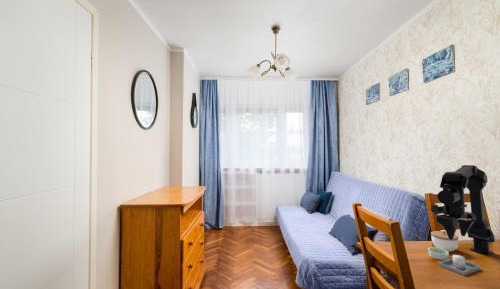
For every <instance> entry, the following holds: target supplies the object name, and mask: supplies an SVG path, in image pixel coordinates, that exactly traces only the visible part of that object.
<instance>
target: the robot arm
mask: <svg viewBox="0 0 500 289" xmlns="http://www.w3.org/2000/svg"><path fill="white" fill-rule="evenodd" d="M488 179H489V178H488V176H487V174H486V172H485V171H484V170H481V169H480V168H478V166H477V165H471V164H469V165H468V164H464V165H461V167H459V168H458V169H456V170H455V171H445V172H444V173H443V174H442V177H441V181H440V184H439V189H442V190H440V191H439V192H438V193H437V196H436V198H437V200H438V201H439V203H441V204H443V205H442V206H441V205H440V206H438V204H434V205H431V206H430V212H432V213H433V214H434V215H435V222H437V223H438V224H439V225H440V226H442V227H443V228H444V231H445V232H446V233H447V235H448V237H449V239H451V240H452V239H453V237H454V235H456V231H457V230H458V227H459V232H460V235H461V237H465V236H466V235H467V237H468V238H471V239H472V242H473V243H472V245H473V247H471V248H469V250H470V251H473V252H477V253H480V254H483V255H491V254H494V251H493V250H490V243H496V239H495V234H494V232H493V230H492V229H491V225H490V224H489V223H488V221H487V220H486V219H485V209H484V208H485V207H484V198H483V197H484V196H483V190H484V189H485V187H486V186H487V183H488ZM466 189H467V190H468V191H469V192H468V193H469V201H470V202H469V203H470V211H466V210H465V209H466V208H467V207H468V204H466V203H465V190H466Z"/></svg>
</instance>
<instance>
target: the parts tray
mask: <svg viewBox="0 0 500 289" xmlns="http://www.w3.org/2000/svg"><path fill="white" fill-rule="evenodd" d="M438 266H439V267H441V268H444V269H446V270H448V271H451V272H453V273H456V274H459V275H461V276H464V277H465V276H467V275H469V274H473V273H475V272H477V271H480V270H481V265H478V264H475V263H472V262H470V261H466V260H465V270H460V269H457V268H455V267H453V257H451V258H449V259H448V260H442V261H440V262H438Z"/></svg>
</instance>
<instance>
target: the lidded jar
mask: <svg viewBox="0 0 500 289" xmlns="http://www.w3.org/2000/svg"><path fill="white" fill-rule="evenodd" d="M430 235H431V236H430V237H431V242H432V244H433V246H434V247H435V248H440V249H443V250H446V251H448V252H454V251H456V250H457V248H458V246H459V236H458V235H456V234H455V235H454V237H453V239H452V240H451V239H449V237H448V235H447V233H446V230H442V231H440V230H435V231H431V232H430Z"/></svg>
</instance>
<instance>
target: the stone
mask: <svg viewBox="0 0 500 289" xmlns="http://www.w3.org/2000/svg"><path fill="white" fill-rule="evenodd" d="M452 258H453V267H455V268H457V269H460V270H465V261H466V258H465V256H462V255H459V254H452Z"/></svg>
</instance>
